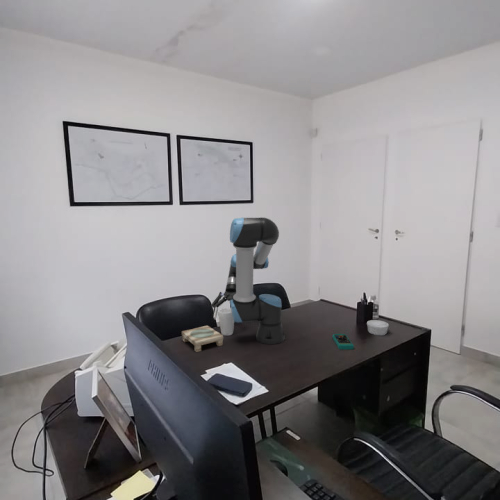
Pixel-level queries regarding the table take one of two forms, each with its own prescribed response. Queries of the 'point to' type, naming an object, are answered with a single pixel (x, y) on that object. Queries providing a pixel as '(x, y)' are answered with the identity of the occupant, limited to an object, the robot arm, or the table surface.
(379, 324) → the ramekin
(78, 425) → the table surface
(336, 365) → the table surface
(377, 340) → the table surface
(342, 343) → the digital multimeter
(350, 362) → the table surface
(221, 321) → the foam cup
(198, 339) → the stand
